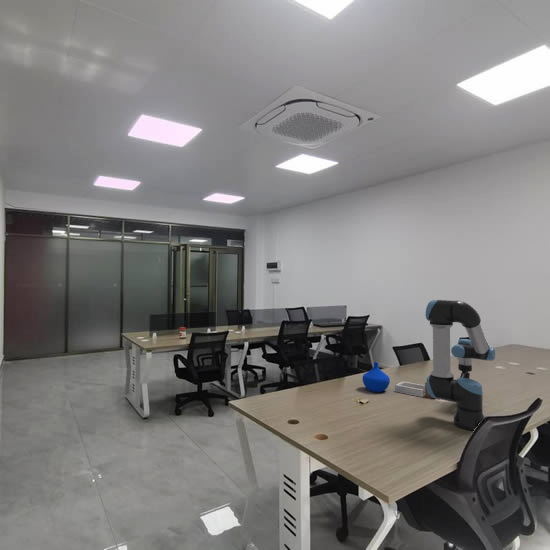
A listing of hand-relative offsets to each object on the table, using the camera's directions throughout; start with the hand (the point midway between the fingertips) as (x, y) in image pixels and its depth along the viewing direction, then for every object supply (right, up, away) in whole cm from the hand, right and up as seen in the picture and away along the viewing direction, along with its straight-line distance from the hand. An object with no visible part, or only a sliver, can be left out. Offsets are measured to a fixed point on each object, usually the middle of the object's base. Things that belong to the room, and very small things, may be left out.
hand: (465, 401), depth 222 cm
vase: (-49, -1, +25) cm, 55 cm away
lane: (-24, -1, +21) cm, 32 cm away
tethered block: (-8, -1, +6) cm, 11 cm away
